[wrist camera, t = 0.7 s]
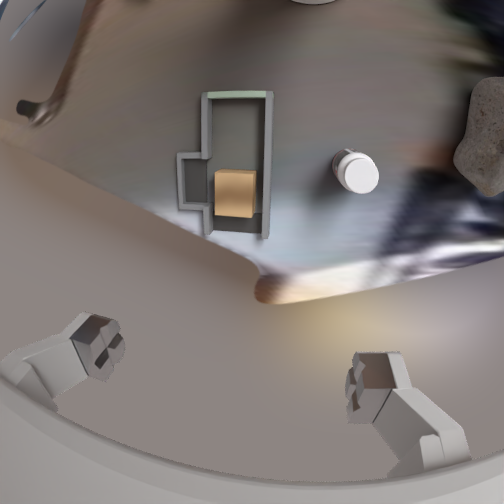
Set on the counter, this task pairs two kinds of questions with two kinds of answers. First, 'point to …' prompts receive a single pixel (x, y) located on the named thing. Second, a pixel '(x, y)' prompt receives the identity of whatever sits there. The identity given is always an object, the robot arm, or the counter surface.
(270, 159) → the channel
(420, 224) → the counter surface
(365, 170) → the pill bottle
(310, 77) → the counter surface
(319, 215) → the counter surface
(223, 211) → the oak block
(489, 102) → the decorative stone
